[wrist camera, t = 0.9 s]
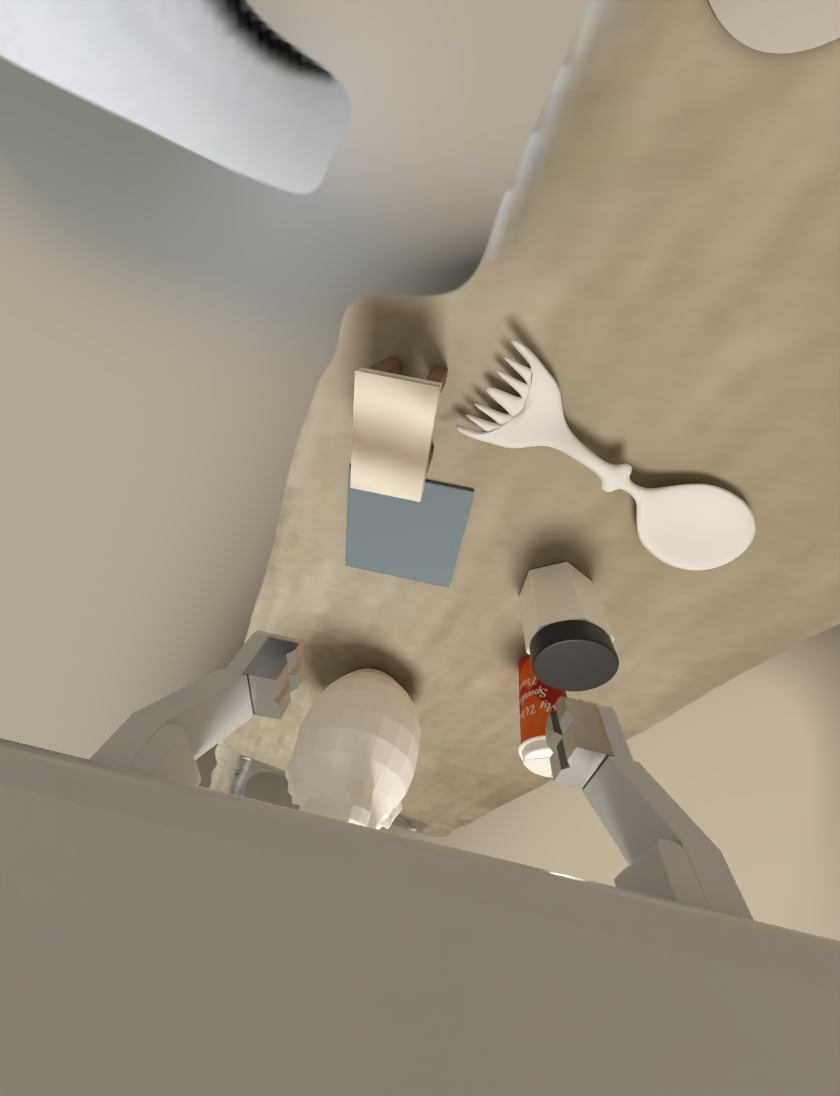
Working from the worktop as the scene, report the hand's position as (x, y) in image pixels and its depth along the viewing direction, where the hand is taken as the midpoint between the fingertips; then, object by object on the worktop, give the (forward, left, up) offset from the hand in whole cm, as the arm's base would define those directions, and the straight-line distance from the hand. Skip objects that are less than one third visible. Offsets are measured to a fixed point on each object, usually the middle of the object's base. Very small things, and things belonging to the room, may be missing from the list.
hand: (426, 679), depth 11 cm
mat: (+14, -4, -29) cm, 33 cm away
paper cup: (+33, +19, -30) cm, 48 cm away
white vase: (+47, -5, -30) cm, 55 cm away
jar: (+18, +16, -30) cm, 38 cm away
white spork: (+1, +15, -30) cm, 34 cm away
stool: (0, -5, -29) cm, 30 cm away
